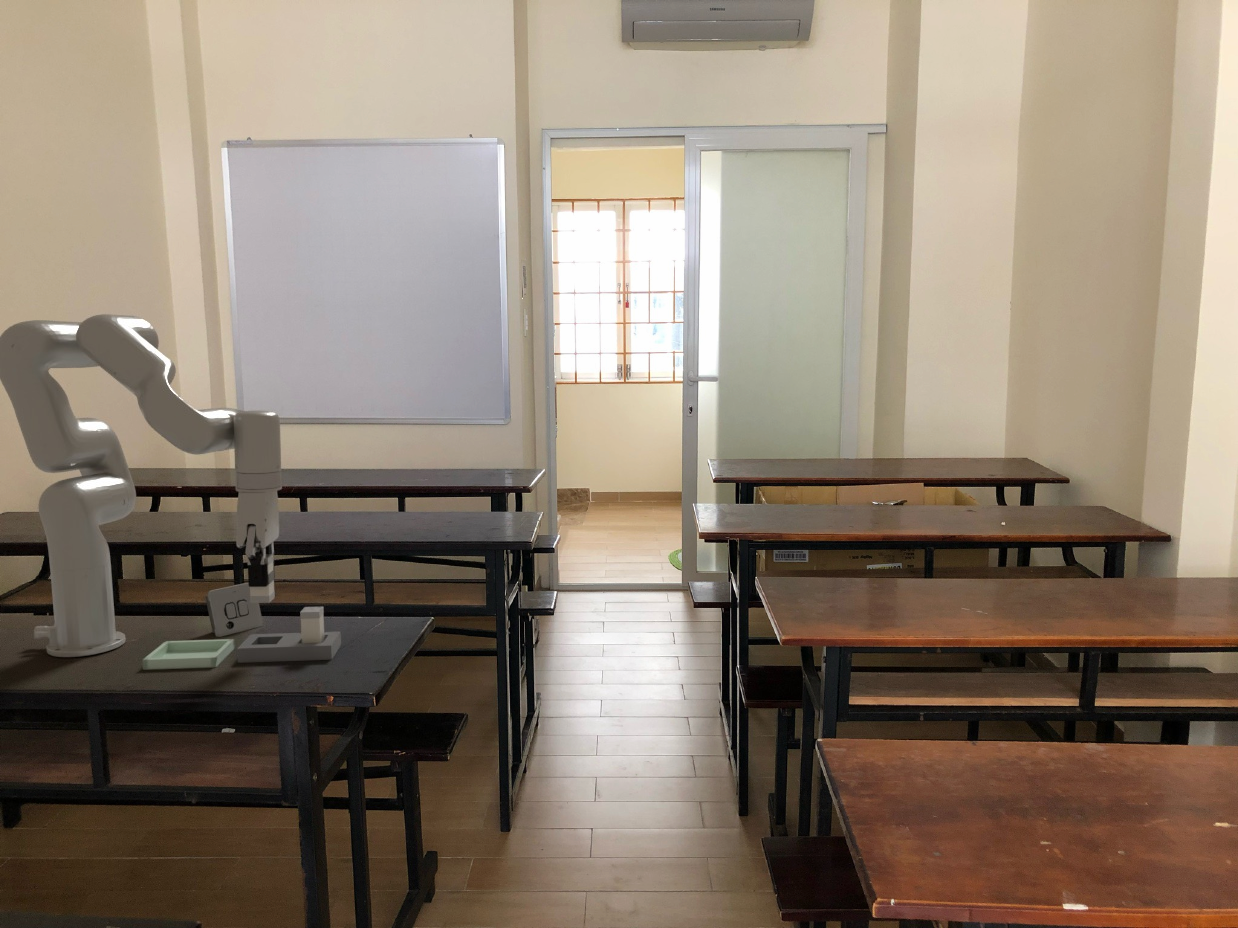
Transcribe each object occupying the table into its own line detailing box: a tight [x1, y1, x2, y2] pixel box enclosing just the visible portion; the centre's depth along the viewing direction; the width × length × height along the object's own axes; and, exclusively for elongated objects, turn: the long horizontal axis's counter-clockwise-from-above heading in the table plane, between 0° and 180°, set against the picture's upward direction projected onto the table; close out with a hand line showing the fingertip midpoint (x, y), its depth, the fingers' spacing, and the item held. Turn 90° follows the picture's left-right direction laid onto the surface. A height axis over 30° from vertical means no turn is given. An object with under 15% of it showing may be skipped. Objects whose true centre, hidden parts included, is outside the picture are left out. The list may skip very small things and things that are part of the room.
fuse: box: [299, 606, 325, 643], centre depth 161 cm, size 3×3×8 cm
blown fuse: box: [250, 554, 276, 604], centre depth 159 cm, size 3×3×8 cm
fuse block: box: [236, 631, 342, 664], centre depth 161 cm, size 16×8×3 cm, turn 96°
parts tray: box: [142, 638, 235, 671], centre depth 158 cm, size 12×10×2 cm
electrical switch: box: [205, 582, 264, 638], centre depth 175 cm, size 9×5×9 cm, turn 141°
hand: (261, 582), depth 159 cm, fingers closed on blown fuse, 3 cm apart
